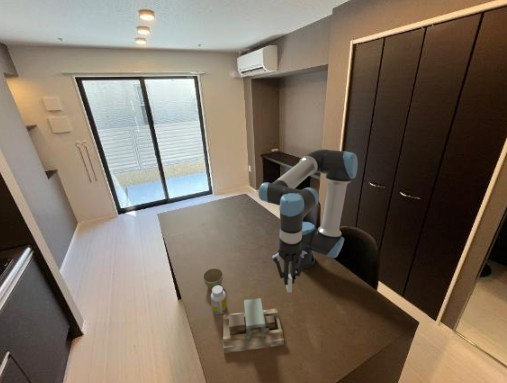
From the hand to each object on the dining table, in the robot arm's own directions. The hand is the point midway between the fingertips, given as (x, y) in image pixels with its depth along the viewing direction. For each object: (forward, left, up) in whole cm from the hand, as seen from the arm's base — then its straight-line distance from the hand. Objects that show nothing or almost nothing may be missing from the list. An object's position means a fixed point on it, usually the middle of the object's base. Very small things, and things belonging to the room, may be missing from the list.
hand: (288, 289), depth 87 cm
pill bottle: (+28, -13, -21) cm, 37 cm away
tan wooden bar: (+15, 0, -17) cm, 23 cm away
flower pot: (+31, -27, -21) cm, 46 cm away
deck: (+15, 0, -20) cm, 25 cm away
